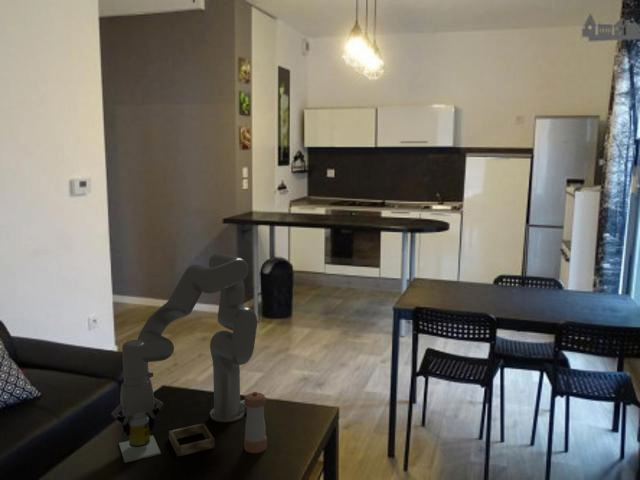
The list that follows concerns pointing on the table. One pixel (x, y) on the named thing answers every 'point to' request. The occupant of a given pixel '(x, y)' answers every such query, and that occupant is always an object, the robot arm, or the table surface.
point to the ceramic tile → (139, 450)
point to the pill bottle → (139, 430)
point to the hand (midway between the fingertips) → (139, 430)
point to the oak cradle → (195, 445)
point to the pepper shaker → (255, 423)
